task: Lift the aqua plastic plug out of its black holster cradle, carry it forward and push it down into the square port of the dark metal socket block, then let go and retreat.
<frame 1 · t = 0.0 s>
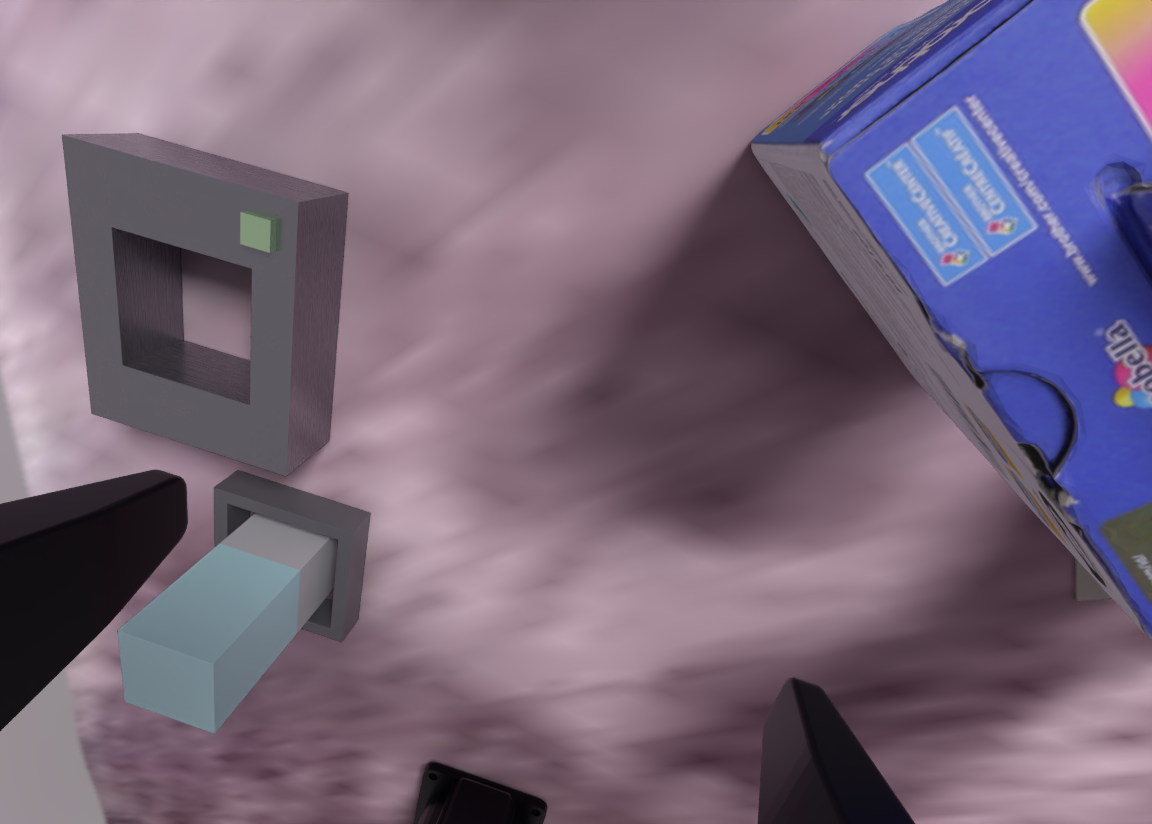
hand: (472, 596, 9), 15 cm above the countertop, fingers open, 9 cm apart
plug: (300, 547, 30), resting in holster
ink cartridge box: (919, 214, 20), on the countertop
holster: (300, 547, 29), on the countertop
socket: (240, 298, 25), on the countertop
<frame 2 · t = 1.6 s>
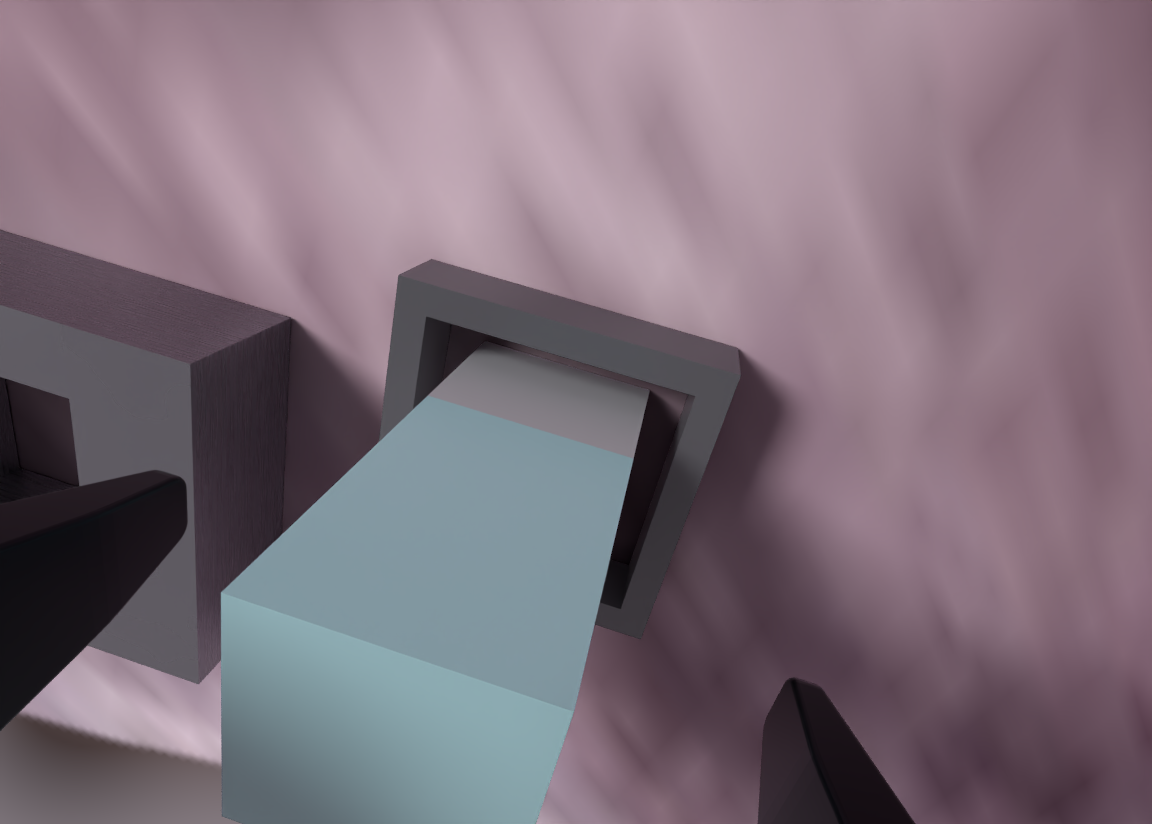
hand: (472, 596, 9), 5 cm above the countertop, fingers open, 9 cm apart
plug: (548, 438, 14), resting in holster
holster: (547, 439, 14), on the countertop
socket: (96, 412, 16), on the countertop
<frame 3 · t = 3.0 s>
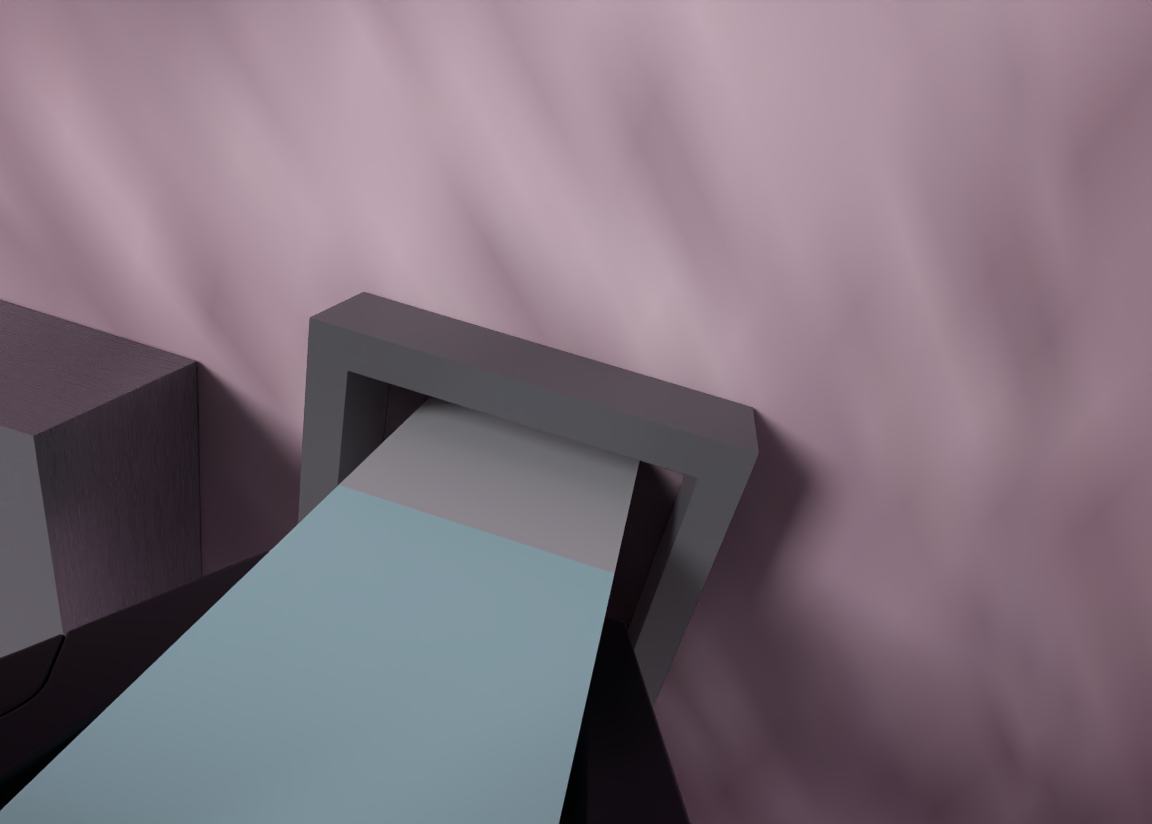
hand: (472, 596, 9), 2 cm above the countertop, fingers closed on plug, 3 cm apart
plug: (515, 511, 11), resting in holster, touching gripper
holster: (514, 512, 11), on the countertop
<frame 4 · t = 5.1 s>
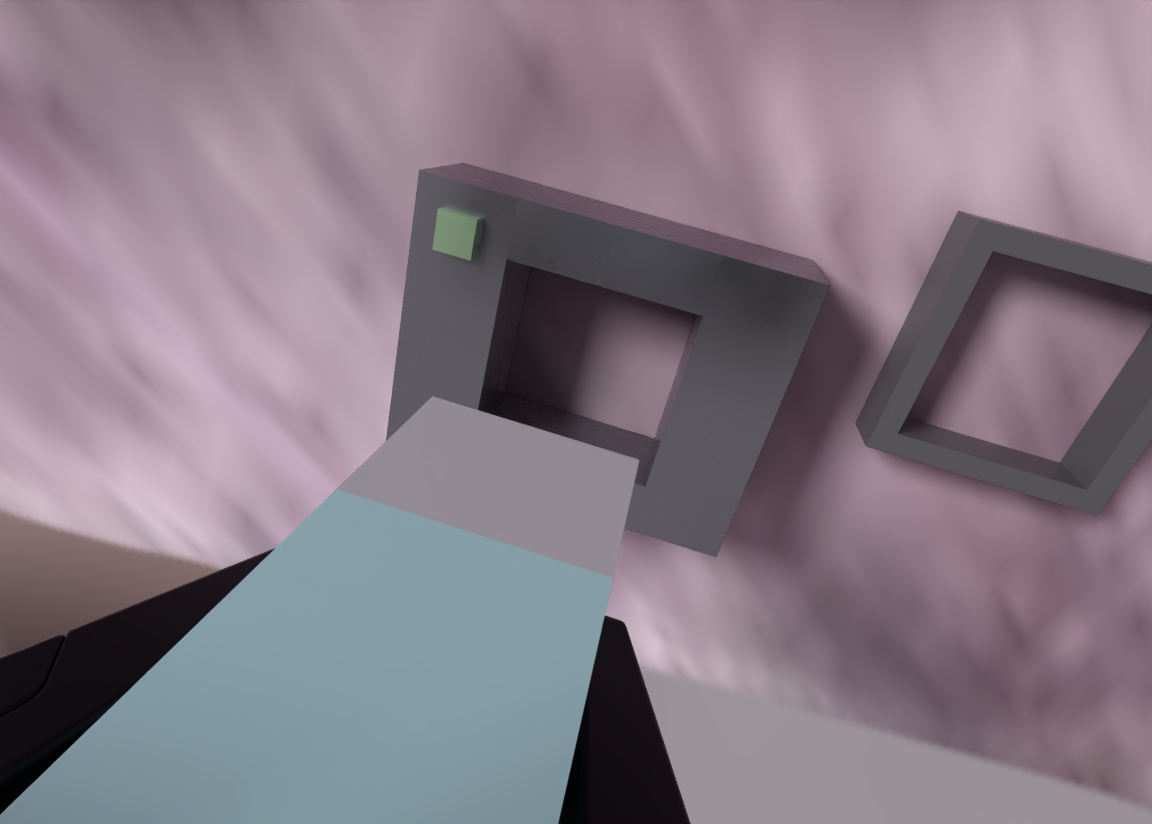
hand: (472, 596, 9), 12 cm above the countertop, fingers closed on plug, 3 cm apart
plug: (514, 515, 11), point 9 cm above the countertop, touching gripper
holster: (1017, 357, 18), on the countertop
socket: (598, 343, 20), on the countertop
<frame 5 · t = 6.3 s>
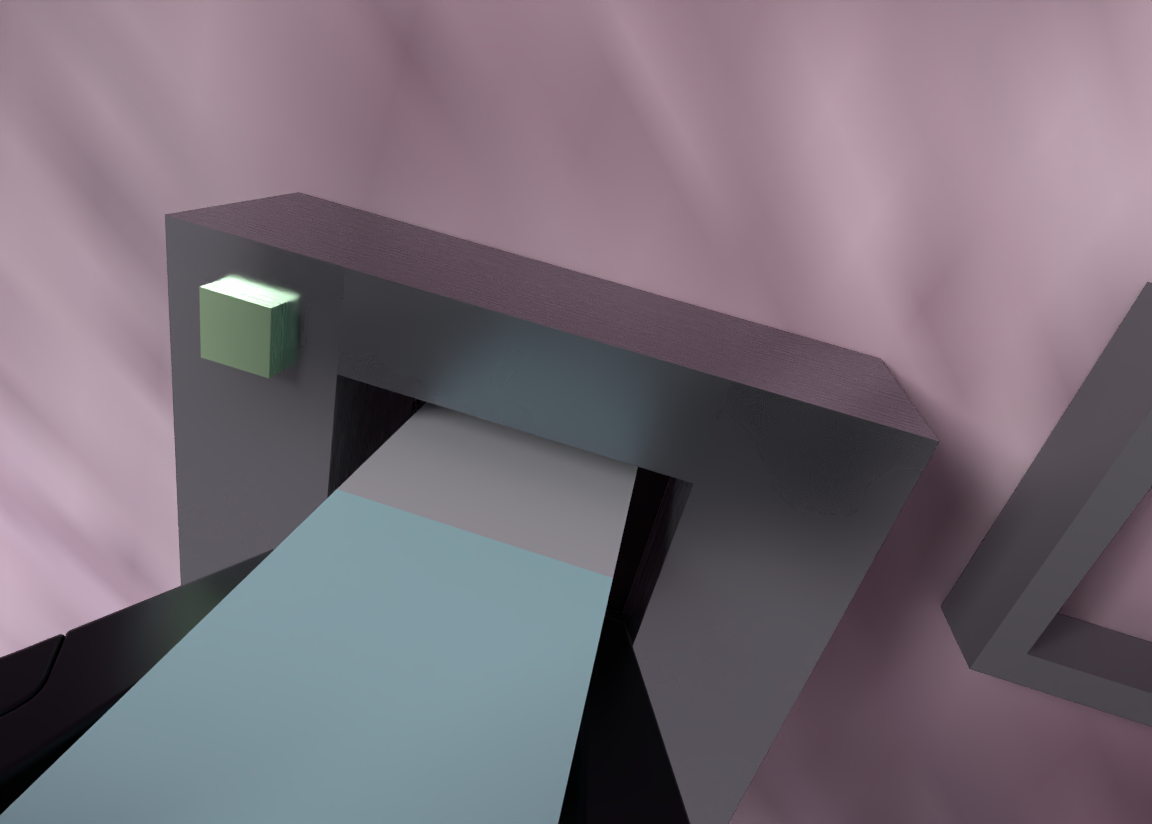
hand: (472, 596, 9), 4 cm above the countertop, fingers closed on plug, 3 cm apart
plug: (514, 515, 11), point 1 cm above the countertop, touching gripper
socket: (530, 474, 12), on the countertop
when the fingers open (3 cm above the countertop, at t = 7.4 s): plug stays where it is, resting in socket.
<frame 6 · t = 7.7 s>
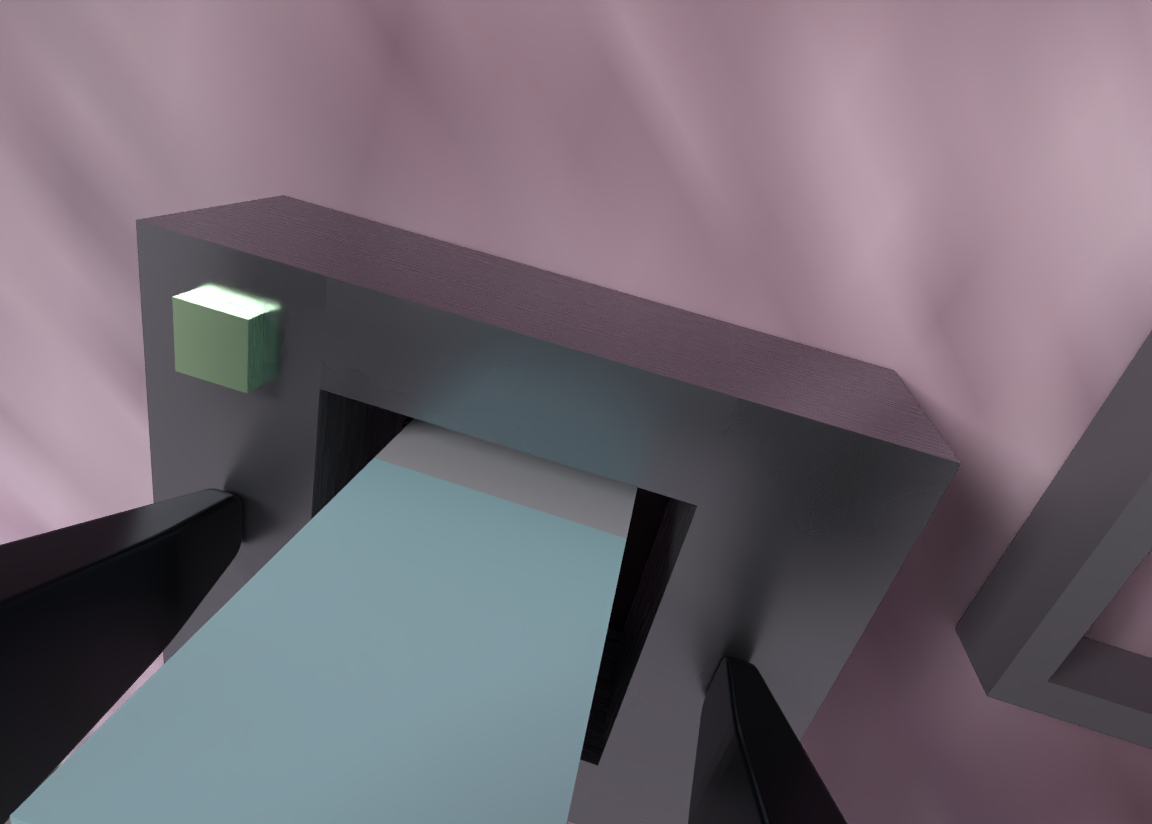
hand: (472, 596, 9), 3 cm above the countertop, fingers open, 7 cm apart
plug: (529, 491, 12), resting in socket
socket: (526, 489, 12), on the countertop
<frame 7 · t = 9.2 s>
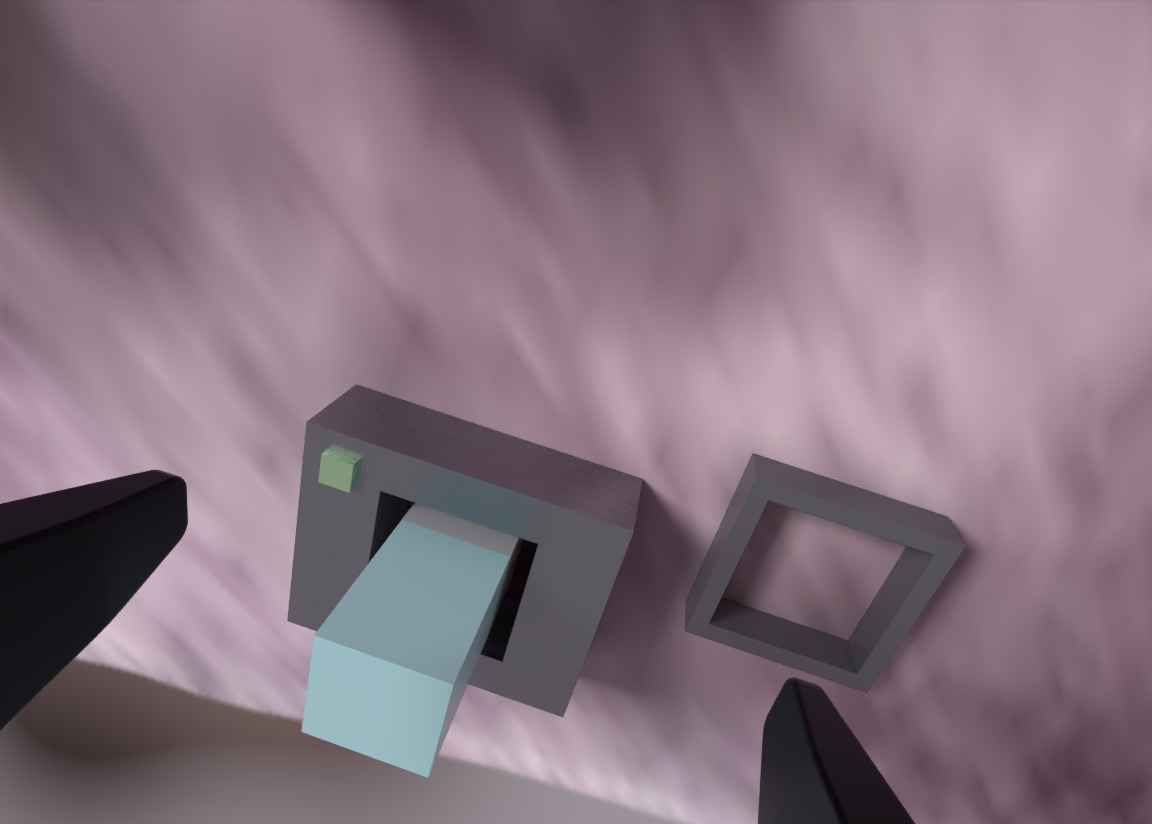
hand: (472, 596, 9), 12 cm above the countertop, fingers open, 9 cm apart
plug: (475, 528, 23), resting in socket
holster: (807, 561, 21), on the countertop
socket: (474, 527, 23), on the countertop
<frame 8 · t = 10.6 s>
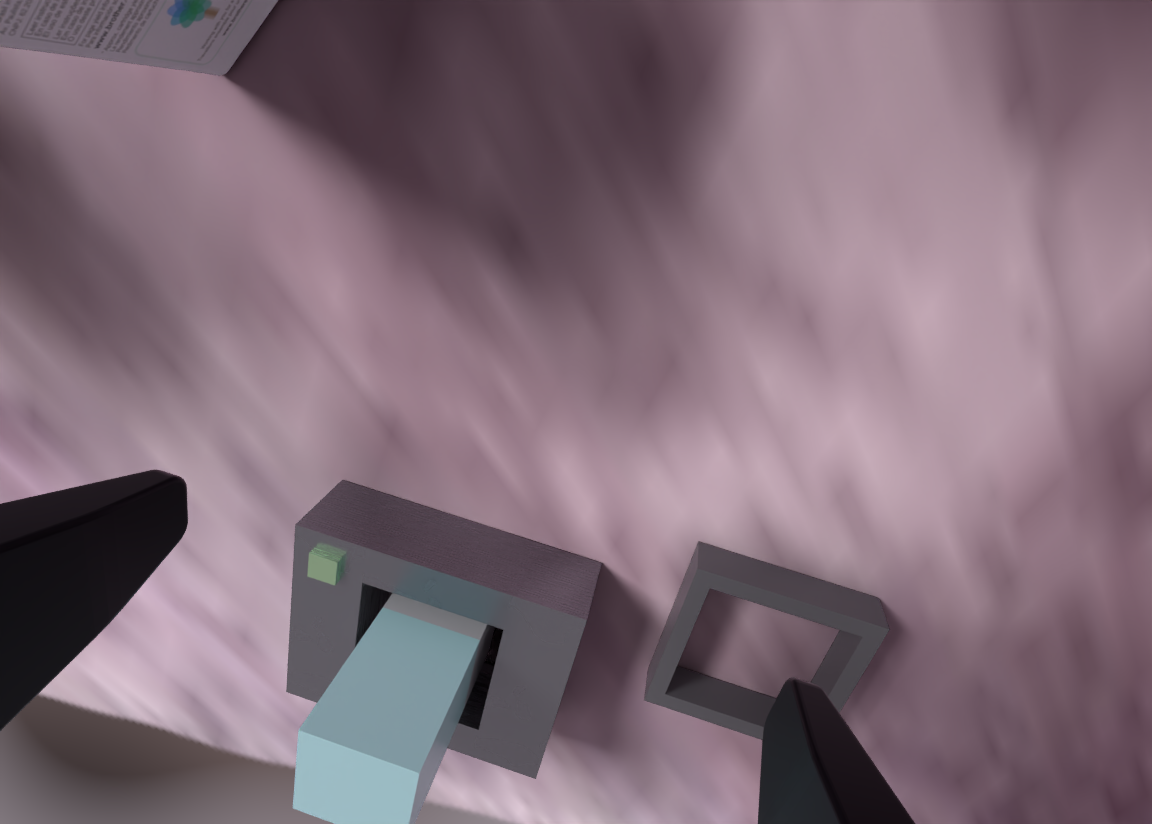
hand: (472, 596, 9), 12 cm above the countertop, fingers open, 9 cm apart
plug: (455, 603, 26), resting in socket
holster: (755, 635, 23), on the countertop
socket: (453, 602, 25), on the countertop
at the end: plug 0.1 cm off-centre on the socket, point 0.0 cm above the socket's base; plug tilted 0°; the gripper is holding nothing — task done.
